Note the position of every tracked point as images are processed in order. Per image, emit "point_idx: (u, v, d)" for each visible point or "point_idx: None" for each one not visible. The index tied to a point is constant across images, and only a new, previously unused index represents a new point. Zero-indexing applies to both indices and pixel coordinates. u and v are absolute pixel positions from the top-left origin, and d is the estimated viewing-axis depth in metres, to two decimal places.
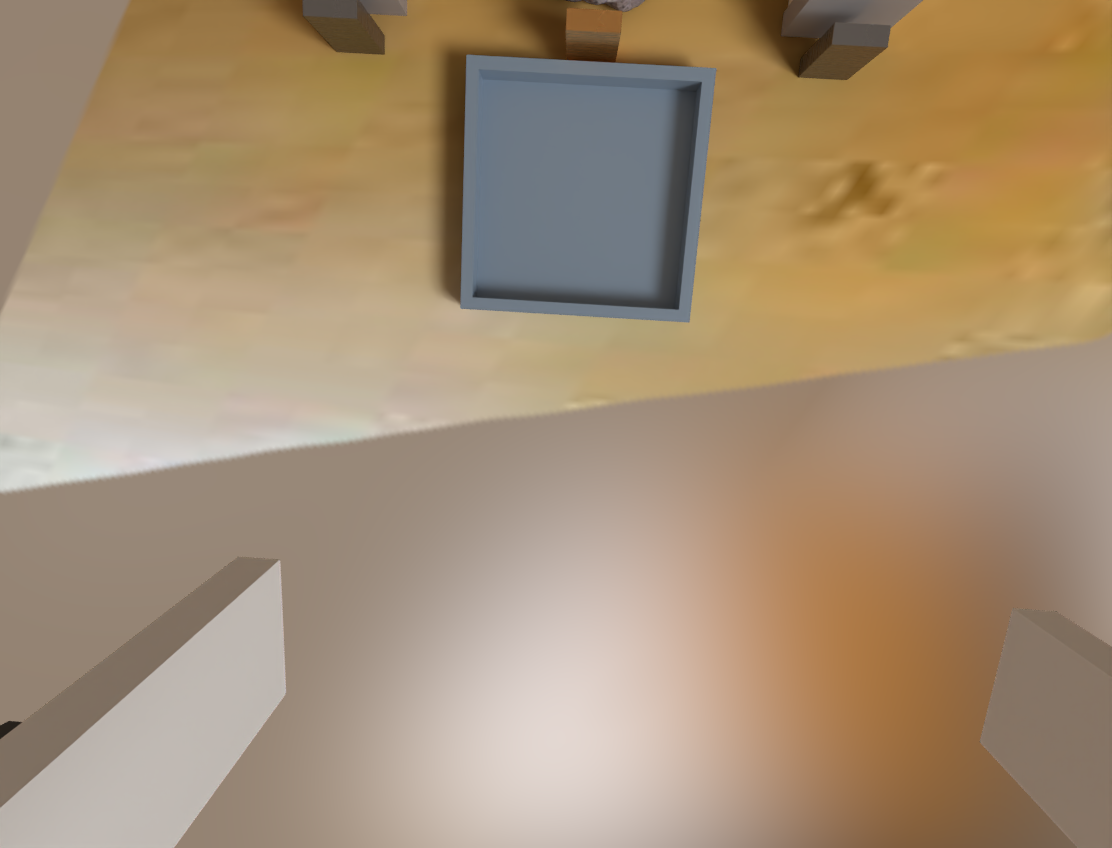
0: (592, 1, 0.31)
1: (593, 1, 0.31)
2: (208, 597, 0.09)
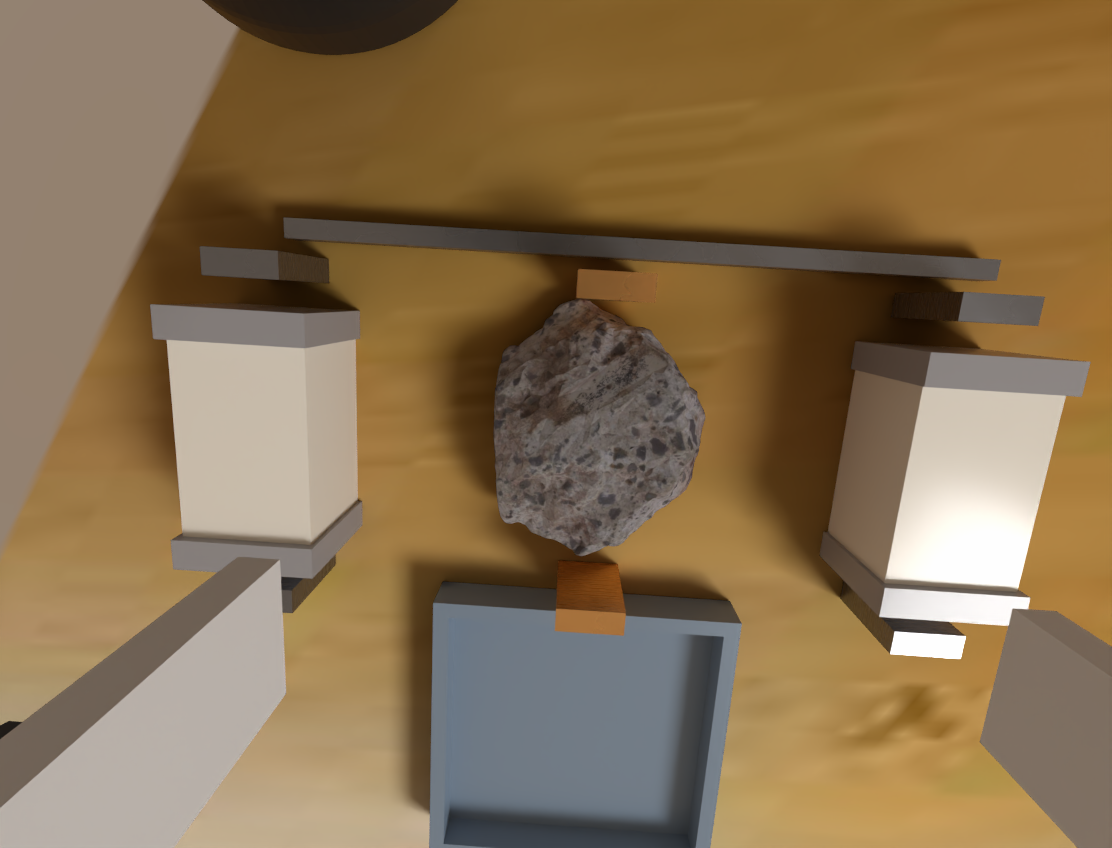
0: None
1: (579, 555, 0.25)
2: (208, 596, 0.09)
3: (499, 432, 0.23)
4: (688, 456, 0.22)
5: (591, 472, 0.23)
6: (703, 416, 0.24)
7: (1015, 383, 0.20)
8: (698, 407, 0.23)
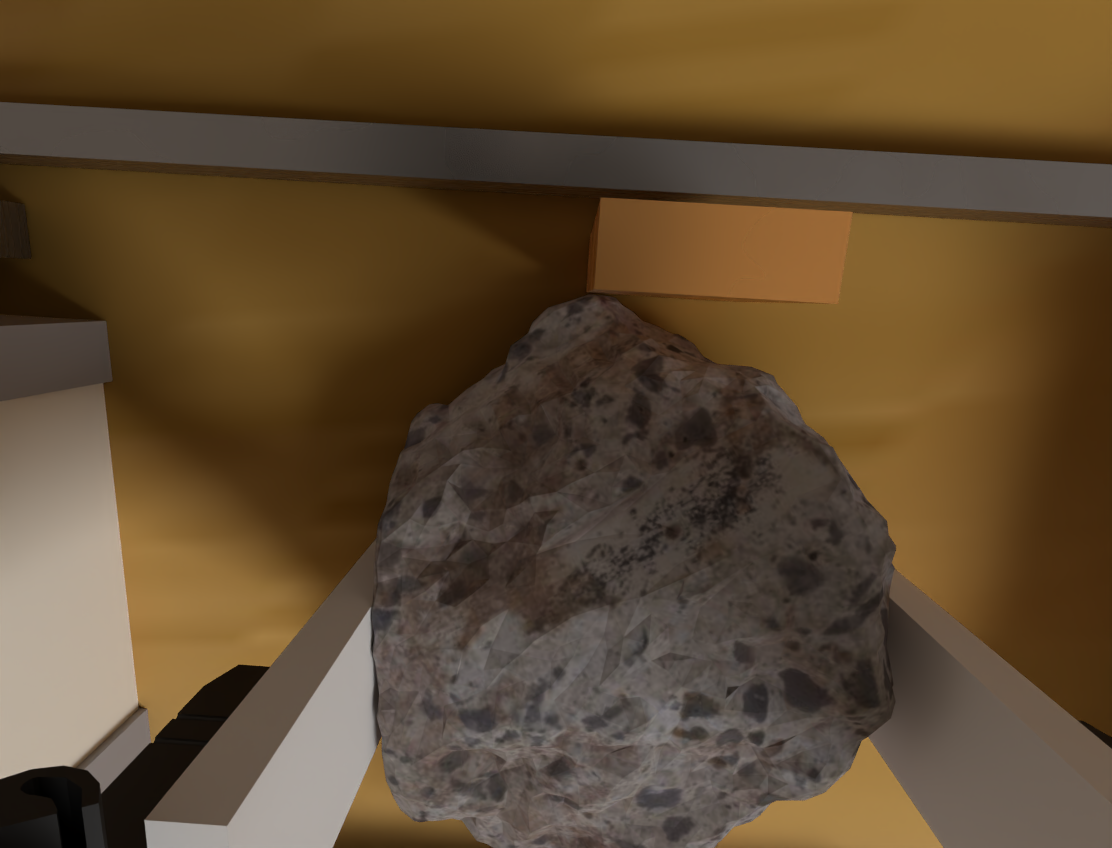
0: None
1: None
2: (372, 565, 0.10)
3: (384, 641, 0.09)
4: (885, 719, 0.08)
5: (623, 746, 0.09)
6: None
7: None
8: (892, 570, 0.09)
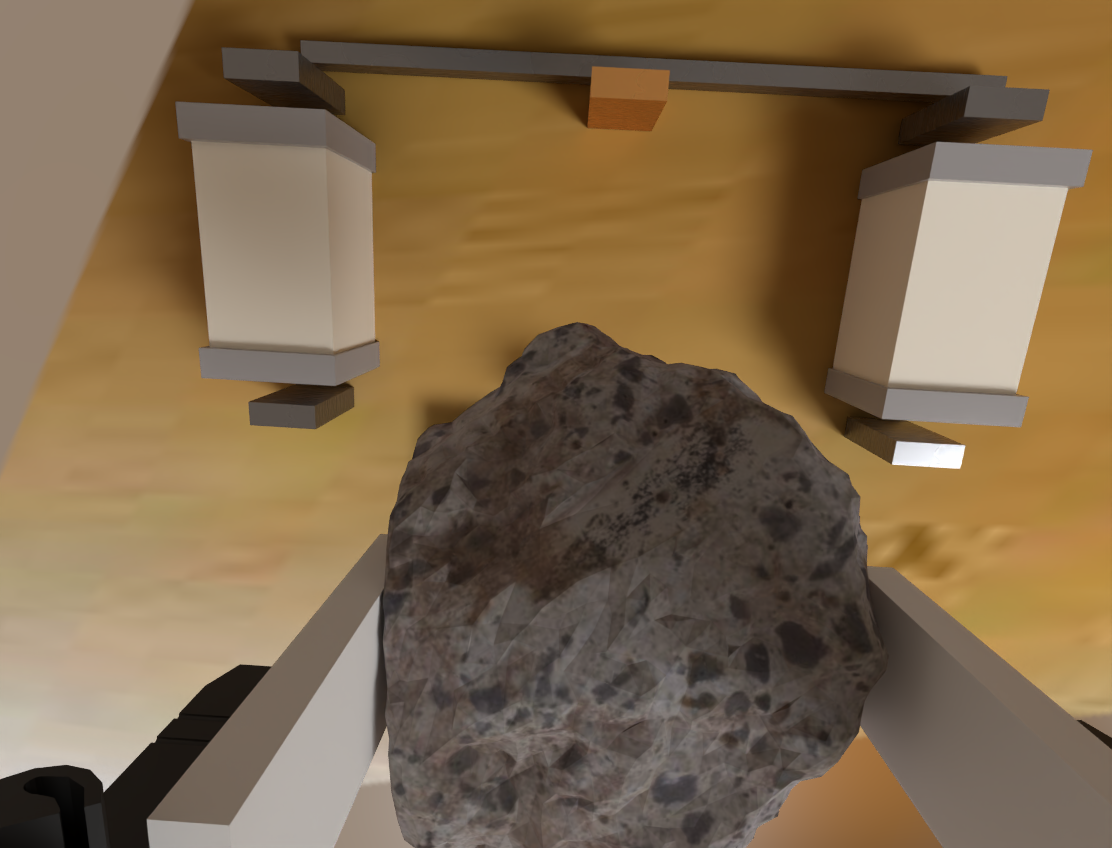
0: None
1: None
2: (373, 565, 0.10)
3: (395, 625, 0.09)
4: (881, 668, 0.09)
5: (634, 721, 0.09)
6: None
7: (1018, 173, 0.20)
8: (865, 538, 0.10)
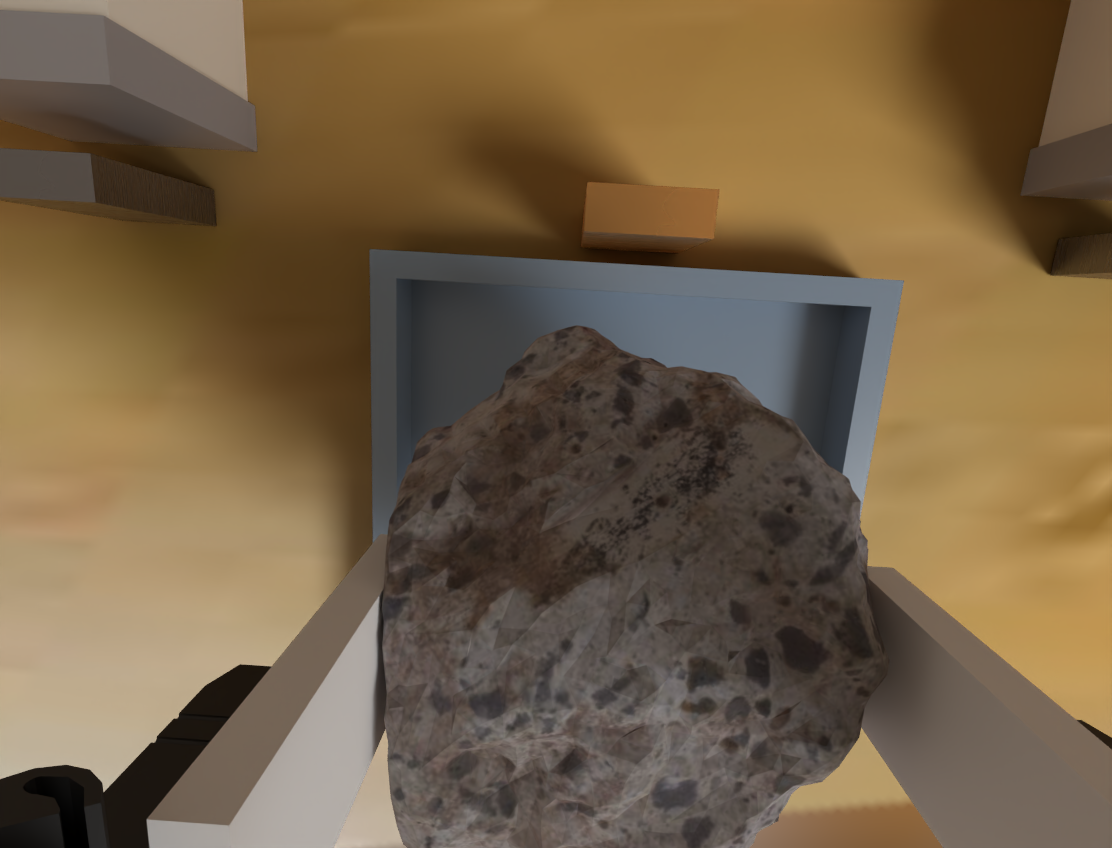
0: None
1: None
2: (373, 566, 0.10)
3: (394, 630, 0.09)
4: (882, 673, 0.09)
5: (634, 726, 0.09)
6: None
7: None
8: (865, 542, 0.10)
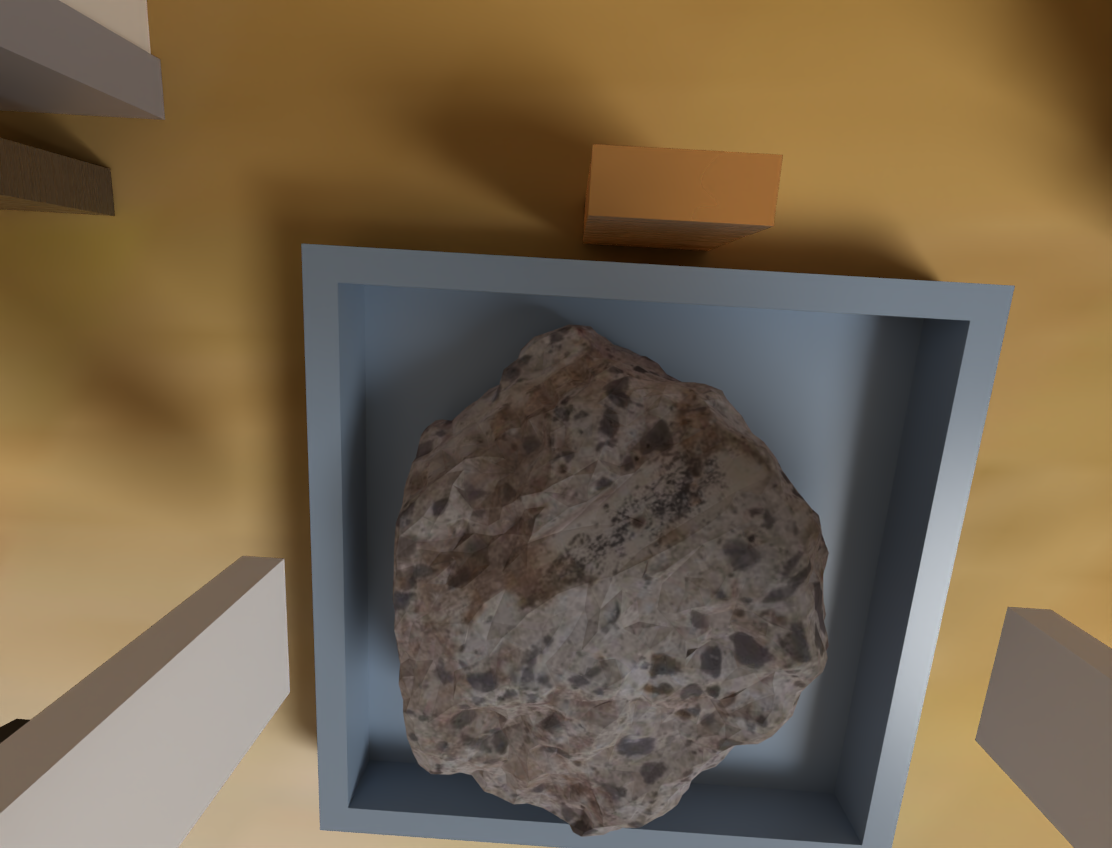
0: None
1: None
2: (214, 595, 0.09)
3: (403, 618, 0.11)
4: (817, 672, 0.10)
5: (602, 701, 0.11)
6: None
7: None
8: (825, 551, 0.11)
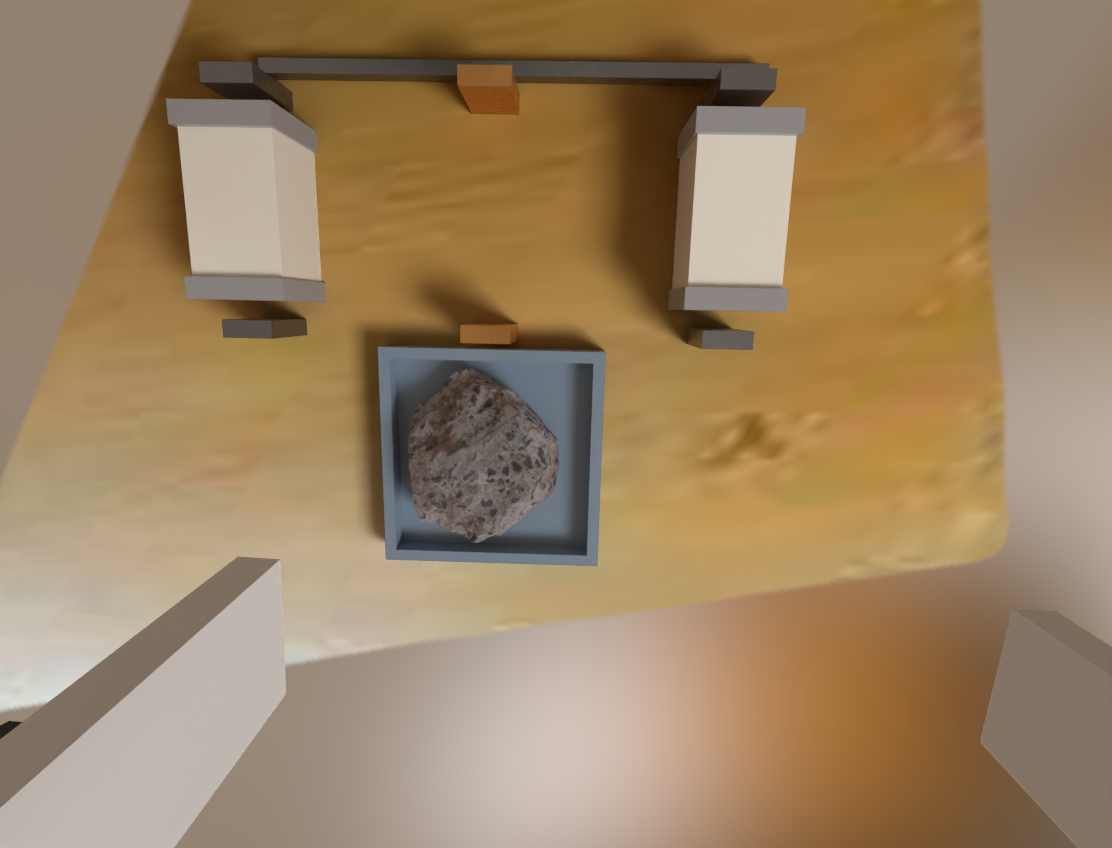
0: (473, 542, 0.36)
1: (474, 542, 0.36)
2: (208, 596, 0.09)
3: (411, 461, 0.34)
4: (537, 472, 0.34)
5: (473, 485, 0.34)
6: (554, 444, 0.36)
7: (757, 126, 0.29)
8: (545, 438, 0.35)
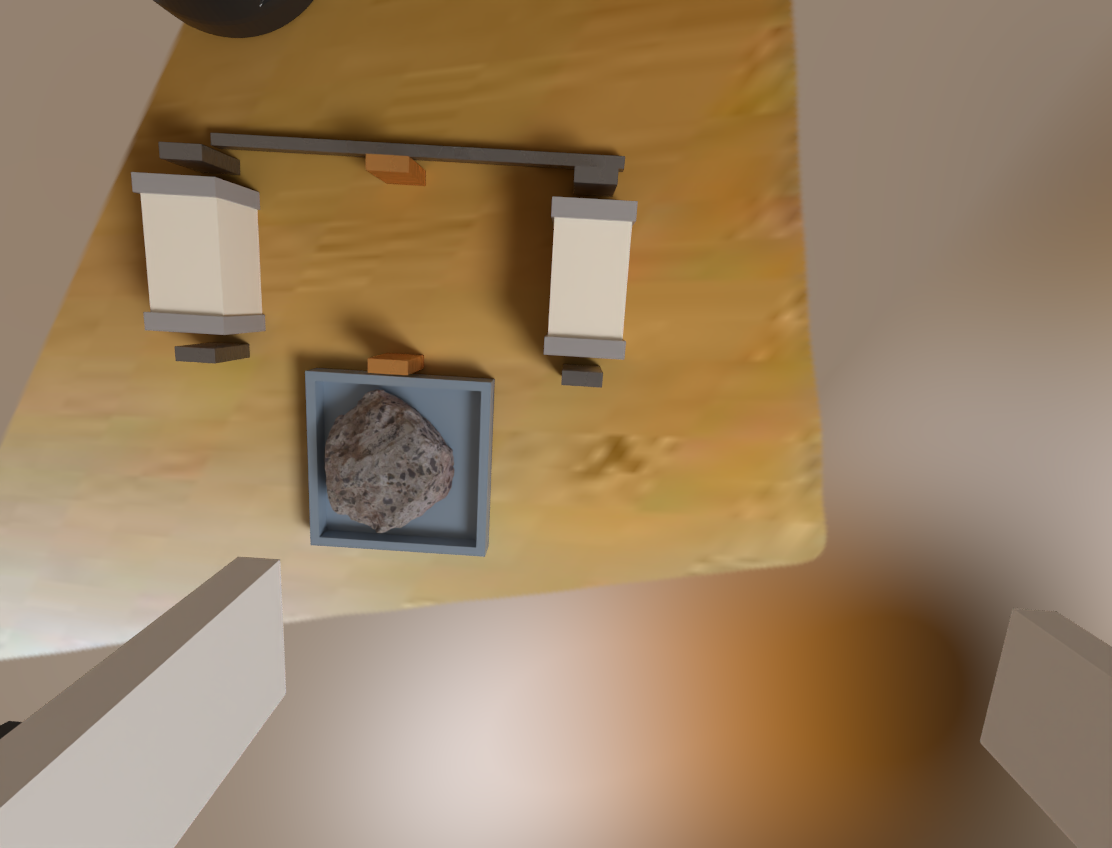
0: (378, 532, 0.44)
1: (379, 532, 0.44)
2: (208, 597, 0.09)
3: (326, 464, 0.42)
4: (427, 478, 0.42)
5: (376, 486, 0.42)
6: (447, 455, 0.44)
7: (599, 214, 0.37)
8: (438, 451, 0.43)
